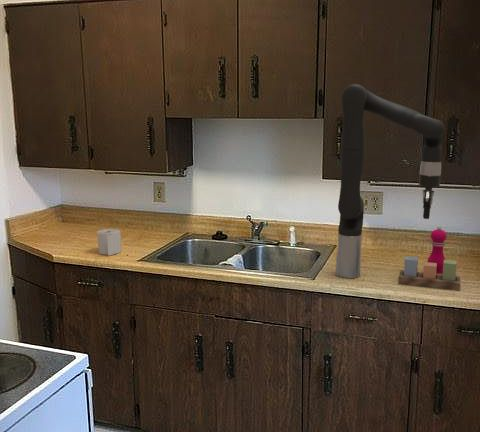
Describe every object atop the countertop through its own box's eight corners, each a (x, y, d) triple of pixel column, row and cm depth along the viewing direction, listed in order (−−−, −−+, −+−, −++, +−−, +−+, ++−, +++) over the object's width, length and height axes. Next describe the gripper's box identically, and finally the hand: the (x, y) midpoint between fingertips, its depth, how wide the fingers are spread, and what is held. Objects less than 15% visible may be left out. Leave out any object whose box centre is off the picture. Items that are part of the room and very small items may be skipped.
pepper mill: (441, 270, 225) (444, 223, 221) (448, 276, 218) (452, 227, 214) (423, 271, 225) (427, 224, 220) (430, 276, 218) (433, 228, 213)
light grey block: (114, 247, 264) (113, 227, 262) (127, 252, 255) (126, 231, 253) (94, 251, 257) (93, 231, 255) (107, 257, 248) (105, 235, 246)
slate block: (403, 276, 210) (404, 259, 209) (404, 273, 214) (405, 256, 213) (416, 278, 208) (417, 260, 207) (417, 274, 213) (418, 257, 211)
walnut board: (398, 284, 209) (398, 276, 209) (400, 277, 217) (400, 269, 217) (459, 291, 201) (460, 283, 201) (459, 283, 209) (460, 276, 209)
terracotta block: (422, 282, 208) (423, 265, 206) (423, 279, 212) (424, 262, 211) (435, 284, 206) (436, 266, 205) (435, 280, 210) (436, 263, 209)
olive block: (442, 280, 205) (443, 263, 204) (442, 277, 209) (443, 259, 208) (455, 282, 203) (456, 264, 202) (455, 278, 208) (456, 260, 206)
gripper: (421, 170, 211) (417, 214, 214) (418, 175, 199) (414, 221, 202) (441, 171, 208) (437, 215, 212) (440, 176, 196) (435, 223, 200)
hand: (426, 218), depth 207 cm, fingers closed
